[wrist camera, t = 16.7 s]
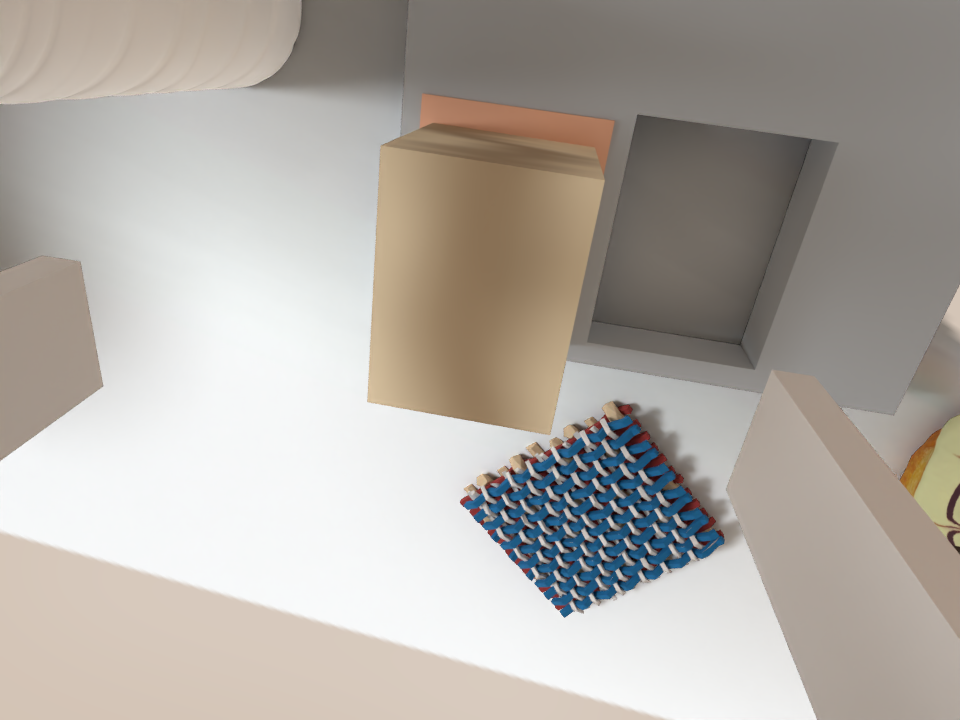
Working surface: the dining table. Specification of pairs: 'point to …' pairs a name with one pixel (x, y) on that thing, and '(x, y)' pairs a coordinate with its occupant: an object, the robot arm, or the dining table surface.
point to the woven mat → (593, 513)
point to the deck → (751, 106)
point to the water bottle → (140, 46)
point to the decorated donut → (938, 479)
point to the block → (479, 272)
